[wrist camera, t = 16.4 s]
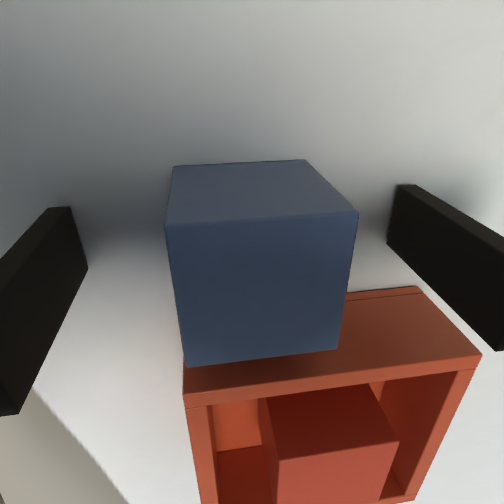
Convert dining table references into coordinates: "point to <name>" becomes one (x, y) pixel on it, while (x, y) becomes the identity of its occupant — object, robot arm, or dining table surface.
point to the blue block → (257, 259)
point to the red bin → (331, 376)
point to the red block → (326, 446)
